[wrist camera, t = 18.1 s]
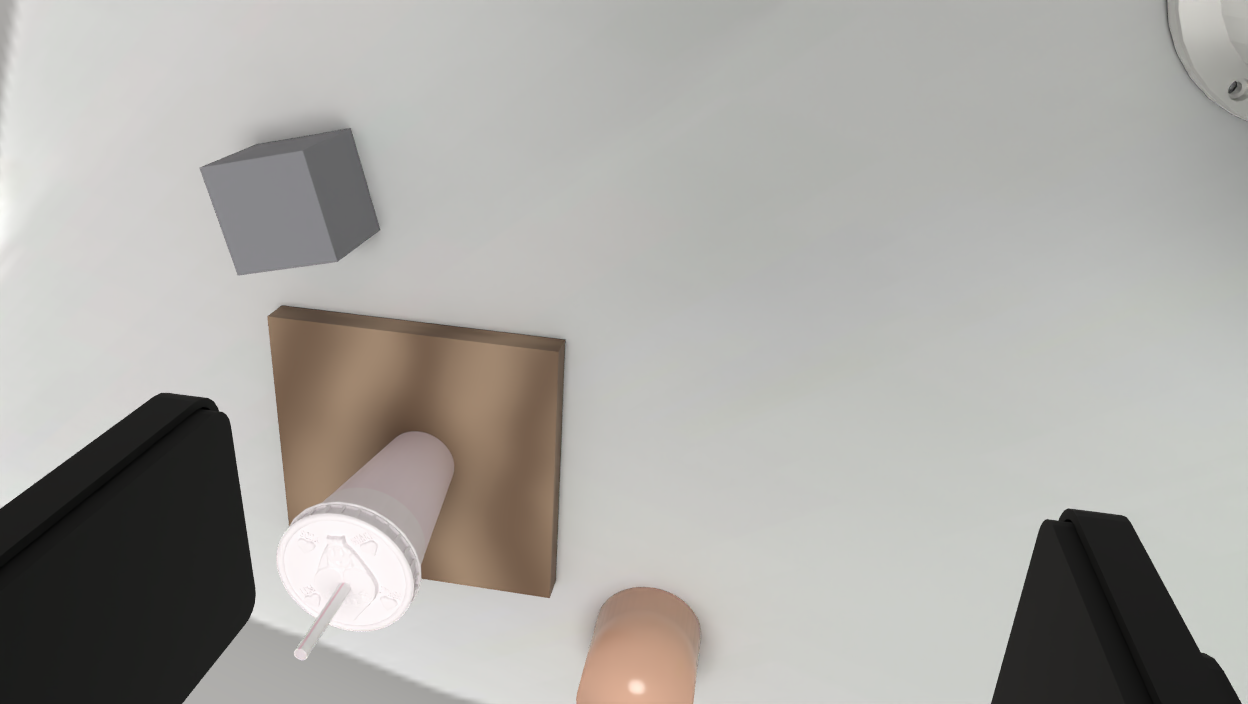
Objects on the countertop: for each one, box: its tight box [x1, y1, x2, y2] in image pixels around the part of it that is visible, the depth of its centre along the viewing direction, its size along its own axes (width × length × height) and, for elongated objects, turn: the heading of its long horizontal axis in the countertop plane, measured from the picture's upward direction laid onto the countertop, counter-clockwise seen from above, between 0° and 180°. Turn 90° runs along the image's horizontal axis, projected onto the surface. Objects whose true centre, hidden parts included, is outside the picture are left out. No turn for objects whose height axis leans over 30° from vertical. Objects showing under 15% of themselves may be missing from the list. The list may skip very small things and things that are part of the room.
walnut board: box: [267, 306, 565, 598], centre depth 51 cm, size 15×15×2 cm
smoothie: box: [276, 431, 454, 660], centre depth 44 cm, size 6×6×14 cm
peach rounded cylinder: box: [576, 587, 701, 704], centre depth 51 cm, size 6×6×6 cm
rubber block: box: [200, 128, 380, 275], centre depth 44 cm, size 5×5×5 cm
